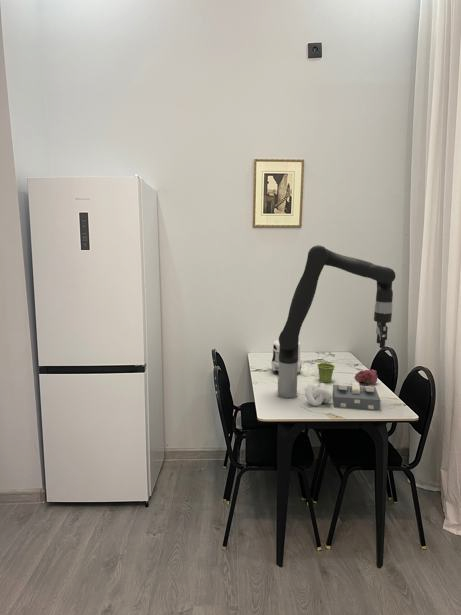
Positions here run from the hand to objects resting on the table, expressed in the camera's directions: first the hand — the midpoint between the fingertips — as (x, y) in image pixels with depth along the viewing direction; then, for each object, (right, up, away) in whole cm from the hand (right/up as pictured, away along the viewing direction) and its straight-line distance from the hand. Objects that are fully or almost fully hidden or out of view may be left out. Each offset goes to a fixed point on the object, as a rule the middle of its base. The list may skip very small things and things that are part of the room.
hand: (380, 345), depth 186 cm
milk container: (-37, -20, +48) cm, 64 cm away
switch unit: (-11, -27, +4) cm, 29 cm away
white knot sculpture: (-29, -28, +3) cm, 40 cm away
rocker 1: (-16, -20, +4) cm, 26 cm away
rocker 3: (-5, -20, +2) cm, 21 cm away
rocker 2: (-11, -20, +3) cm, 23 cm away
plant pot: (-18, -23, +33) cm, 44 cm away
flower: (+3, -23, +28) cm, 37 cm away
